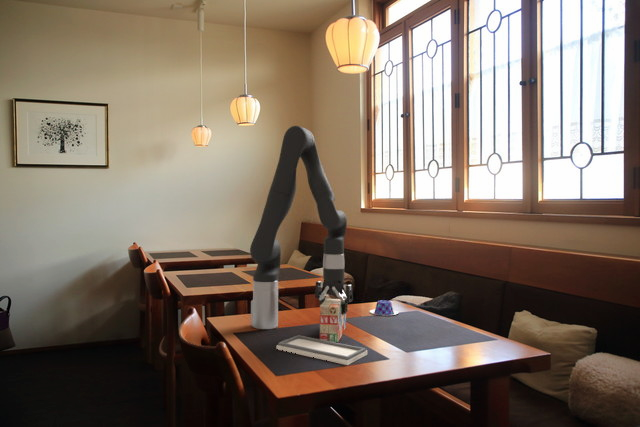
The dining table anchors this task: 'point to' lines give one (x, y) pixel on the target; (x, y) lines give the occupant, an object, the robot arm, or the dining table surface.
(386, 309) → the blue checkered hat
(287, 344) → the base board
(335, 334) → the stack of blocks
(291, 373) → the dining table surface
